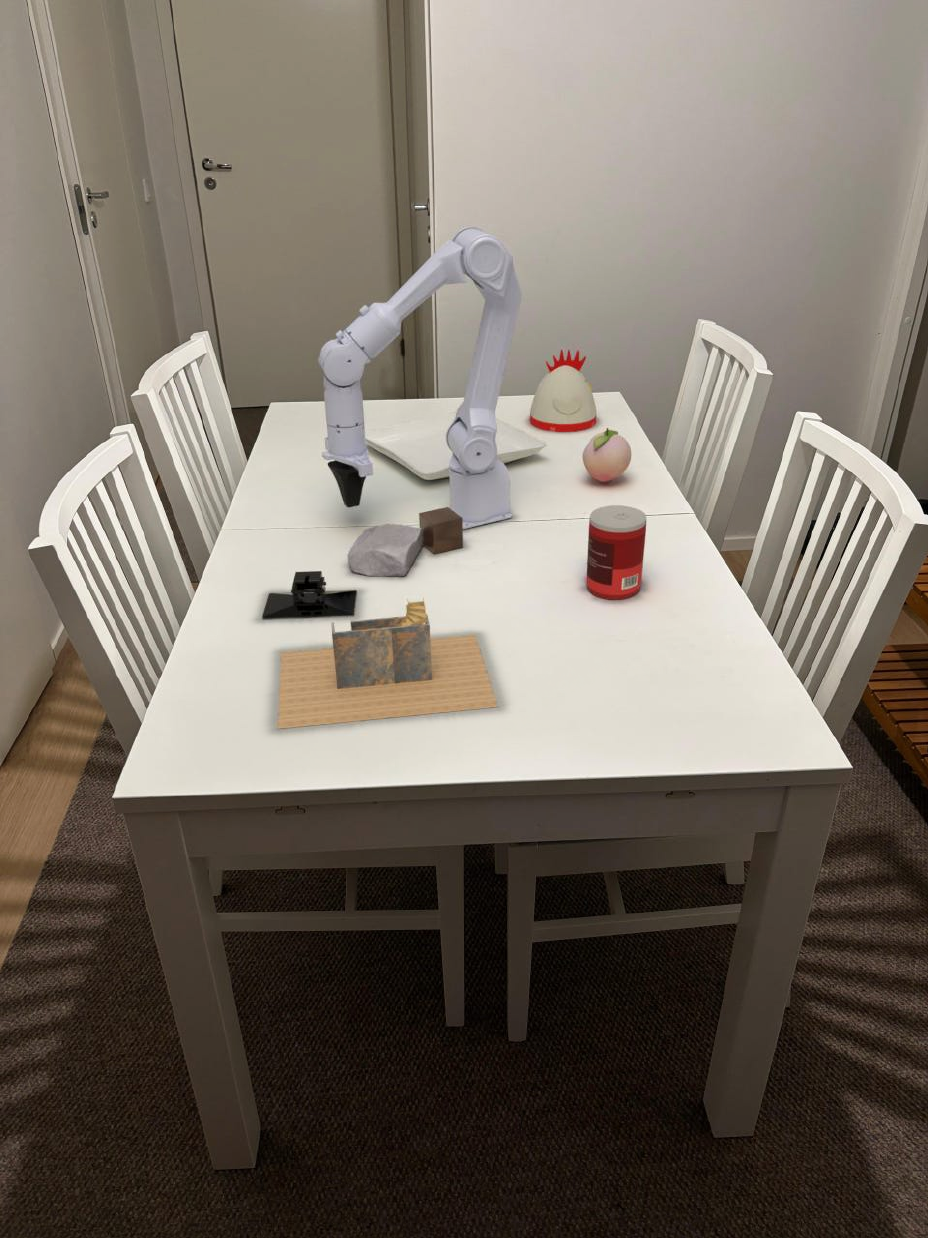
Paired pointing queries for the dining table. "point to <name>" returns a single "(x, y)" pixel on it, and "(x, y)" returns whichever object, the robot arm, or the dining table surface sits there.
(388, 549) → the stone block
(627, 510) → the canned food
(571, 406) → the kitchen timer
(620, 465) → the decorative fruit
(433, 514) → the walnut cube
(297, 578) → the build plate
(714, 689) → the dining table surface
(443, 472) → the square plate
